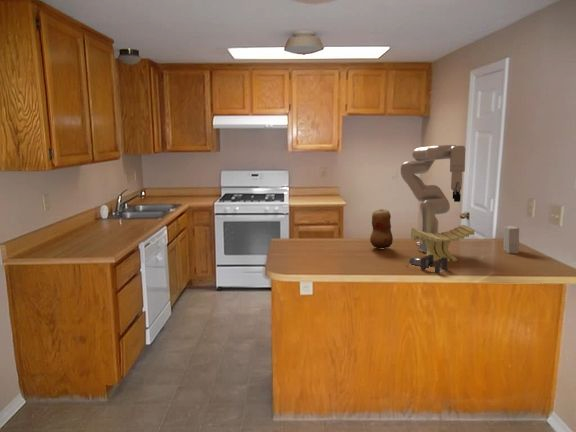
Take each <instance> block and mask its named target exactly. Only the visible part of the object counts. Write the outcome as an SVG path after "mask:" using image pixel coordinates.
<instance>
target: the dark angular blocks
mask: <svg viewBox="0 0 576 432" xmlns="http://www.w3.org/2000/svg"><path fill="white" fill-rule="evenodd" d="M441 264H442V265H441ZM434 267H435V273H434V274H436V273H438V274H441V273H440V268H442V269H443V270H445V271H446V270H448V261H447V257H443V258H441V257H439V259H438V260H436V261H434ZM438 274H437V275H438Z"/></svg>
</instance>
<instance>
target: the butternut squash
mask: <svg viewBox="0 0 576 432" xmlns="http://www.w3.org/2000/svg"><path fill="white" fill-rule="evenodd" d="M391 218H392V216H391V212H390V211H389V209H384V208H379V209H376V210H374V211H373V212H372V215H371V226H372V231H371V235H370V238H369V239H370V240H369V241H370V243H371V245H372V246H373V247H374V248H376V249H378V248H385V249H386V248H390V246H392V245H393V241H394V239H393V238H394V237H393V233H392V231H391V229H392V225H391V224H392V223H391Z"/></svg>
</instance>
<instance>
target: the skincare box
mask: <svg viewBox="0 0 576 432" xmlns="http://www.w3.org/2000/svg"><path fill="white" fill-rule="evenodd" d="M503 251H504V252H506V253H508V254H519V253H520V228H519V227H517V226H514V225H506V226H505V225H504V226H503Z"/></svg>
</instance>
